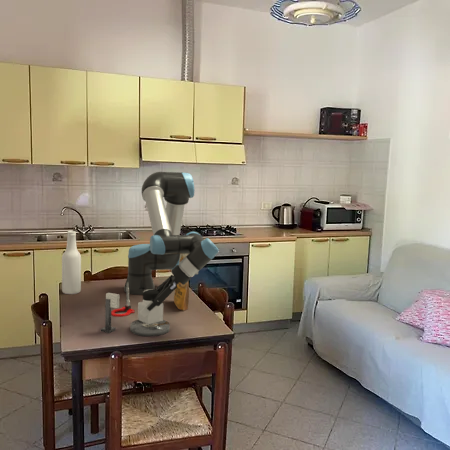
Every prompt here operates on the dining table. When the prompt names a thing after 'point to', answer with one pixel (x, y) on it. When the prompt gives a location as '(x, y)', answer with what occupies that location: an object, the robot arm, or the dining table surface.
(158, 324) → the disc
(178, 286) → the pancake mix bag
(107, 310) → the gray upright stand
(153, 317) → the medicine bottle
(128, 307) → the tow hook
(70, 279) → the alcohol
